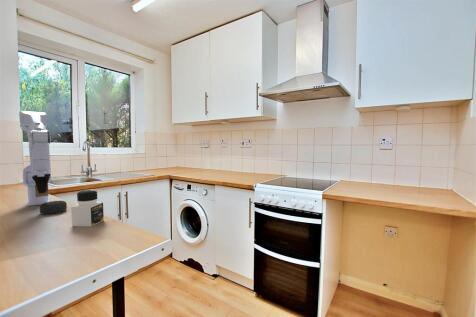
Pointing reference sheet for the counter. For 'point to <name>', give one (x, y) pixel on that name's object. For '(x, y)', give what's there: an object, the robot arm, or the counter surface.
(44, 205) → the smart speaker
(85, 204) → the medicine bottle
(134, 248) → the counter surface
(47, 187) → the walnut block
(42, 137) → the robot arm
